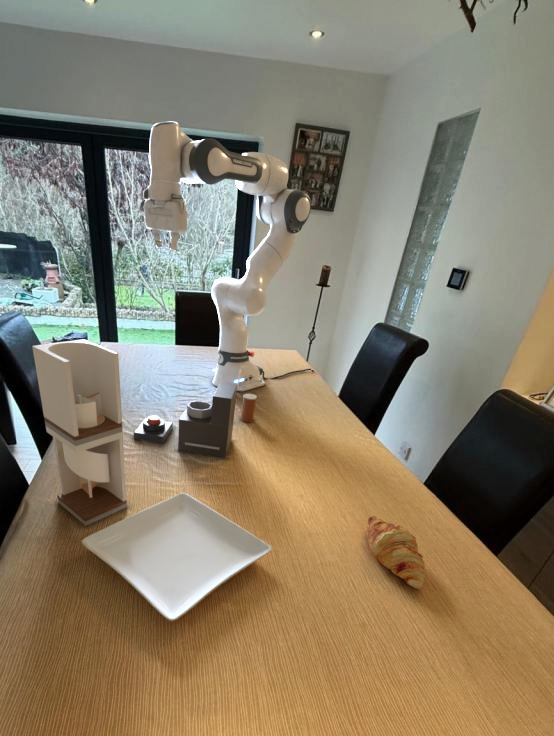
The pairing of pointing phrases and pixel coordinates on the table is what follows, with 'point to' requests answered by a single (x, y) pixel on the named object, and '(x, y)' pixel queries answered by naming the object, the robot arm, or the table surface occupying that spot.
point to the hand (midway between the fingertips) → (165, 248)
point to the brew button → (153, 420)
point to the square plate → (176, 552)
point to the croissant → (396, 550)
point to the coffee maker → (209, 424)
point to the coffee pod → (248, 407)
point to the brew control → (153, 431)
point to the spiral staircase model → (84, 425)
